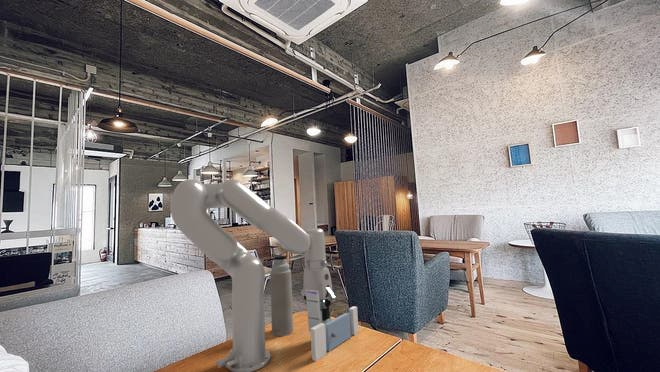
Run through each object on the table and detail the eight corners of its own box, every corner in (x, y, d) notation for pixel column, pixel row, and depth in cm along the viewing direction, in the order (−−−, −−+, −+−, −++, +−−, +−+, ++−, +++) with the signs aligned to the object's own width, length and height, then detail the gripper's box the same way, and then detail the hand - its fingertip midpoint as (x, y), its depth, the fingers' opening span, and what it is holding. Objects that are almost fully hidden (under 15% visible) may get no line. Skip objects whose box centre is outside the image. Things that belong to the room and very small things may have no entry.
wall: (315, 361, 81) (314, 329, 82) (311, 359, 82) (310, 328, 83) (358, 332, 99) (357, 306, 100) (354, 331, 100) (353, 306, 101)
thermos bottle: (267, 333, 102) (265, 257, 105) (282, 325, 109) (280, 254, 112) (282, 338, 98) (279, 258, 101) (297, 329, 104) (294, 255, 107)
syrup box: (321, 335, 90) (318, 290, 91) (308, 332, 93) (305, 288, 95) (331, 329, 94) (328, 286, 96) (318, 325, 98) (316, 284, 99)
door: (331, 352, 85) (330, 323, 86) (325, 350, 87) (324, 321, 88) (355, 336, 96) (353, 310, 96) (349, 334, 97) (348, 309, 98)
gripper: (341, 263, 93) (345, 318, 92) (305, 260, 104) (308, 309, 102) (327, 268, 87) (331, 326, 86) (290, 264, 98) (293, 316, 97)
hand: (318, 316), depth 94 cm, fingers closed on syrup box, 5 cm apart
